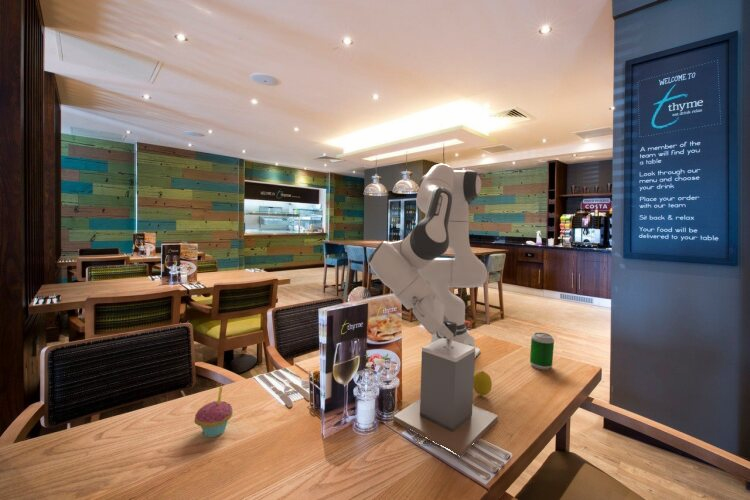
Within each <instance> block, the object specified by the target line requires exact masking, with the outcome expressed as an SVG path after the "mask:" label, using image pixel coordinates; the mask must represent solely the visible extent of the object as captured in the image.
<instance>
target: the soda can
mask: <svg viewBox="0 0 750 500" xmlns="http://www.w3.org/2000/svg"><path fill="white" fill-rule="evenodd" d="M530 339H531V341H530V352H529V353H530V355H529V356H530V357H529V363H530V364H531V366H532V367H534V368H535V369H537V370H541V371H547V370H550V369H551V368H552V367H553V359H554V358H553V357H554V344H555V339H554V338H553V336H552V335H551V334H550V333H549V334H548V333H546V332H534V334H532V335H531V338H530Z"/></svg>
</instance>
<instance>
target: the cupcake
mask: <svg viewBox="0 0 750 500" xmlns="http://www.w3.org/2000/svg"><path fill="white" fill-rule="evenodd" d="M218 389H219V390H218V396H217V400H214V401H211V402H209V403H207V404H205V405H202V407H200V408H199V409H198V410H197V412H196V413H195V418H194V423H195V425H197V426H199V427H200V428H201V429H202V431H203V435H204V436H205V437H207V436H208V438H214V437H213V436H215V437H217V435H218V436H220V435H222V434H223V433H224V432H225V431H224V430H226V428H227V424H228V421H229V420H231V418H232V416H233V406H232V405H231V404H230V403H227V402H226V401H222V395H223V394H222V393H223V392H222V391H223V383H221V385H220V386H219V388H218ZM221 433H222V434H221Z"/></svg>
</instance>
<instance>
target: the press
mask: <svg viewBox="0 0 750 500" xmlns="http://www.w3.org/2000/svg"><path fill="white" fill-rule="evenodd" d="M475 347H476V346H475ZM475 347H472V346H469V345H466V344H462V343H459V342H455V341H452V346H451V350H450V349H446V339H445V338H441V339H439V340H436V341H434V342H432V343H431V342H430V343H428V344H426V345H423V346H422V347H421V365H420V369H421V370H420V395H419V399H417V400H415V401H414V402H413V403H411V404H409V405H408V406H407V407H405V408H403V409H402V410H400V411H399V412H396V413H395V414H394V415H393V417H392V421H393V422H394V423H396V424H397V425H400V427H403V428H405V429H407V428H408V429H407V430H409V429H411V430H413V431H415V432H416V433H418V434H421V435H422V436H424V437H427V438H428V439H430V440H431V441H434V442H435V443H437V444H439V445H442V446H444V447H446V448H448V449H450V450H451V451H453V452H454V453H456V454H457V455H459V456H460V457H461V456H462V455H463V454H464V453H465V452H466V451H467V450H468V449H469V448H470V447H471V446H472V444H473V443H475V442H476V441H477V440H478V439H479V440H480V439H481V438H482V437H483V436H484V435H485V434H486V433H487V432H489V430H490V429H492V427H494V425H495V424H496V423H498V421H499V420H498V419H499V417H498V416H499V415H497V414H495V413H494V412H493V413H492V412H490V411H487V410H486V409H483V408H481V407H478V406H476V405H474V404H473V401H474V388H473V384H474V376H475V364H476V363H475V361H476V358H475ZM411 430H410V431H411ZM416 433H415V434H416ZM418 434H417V435H418ZM479 440H478V441H479ZM431 441H430V442H431ZM478 441H477V442H478ZM477 442H476V443H477ZM476 443H475V444H476ZM472 447H473V446H472ZM472 447H471V448H472ZM471 448H470V449H471ZM470 449H469V450H470ZM469 450H468V451H469ZM468 451H467V452H468ZM467 452H466V453H467ZM466 453H465V454H466ZM465 454H464V455H465ZM464 455H463V456H464ZM463 456H462V457H463ZM460 457H459V458H460ZM462 457H461V458H462Z"/></svg>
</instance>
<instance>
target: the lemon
mask: <svg viewBox="0 0 750 500" xmlns="http://www.w3.org/2000/svg"><path fill="white" fill-rule="evenodd" d="M492 385H493V384H492V379H491V377H490V375H489V374H488V373H487V372H485V371H483V370H481V371H478V372H475V373H474V384H473V391H474V392H475V393H476V395H477V394H478V395H479V396H480V397H483V396H487V395H489V393H490V392H491V390H492Z"/></svg>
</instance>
